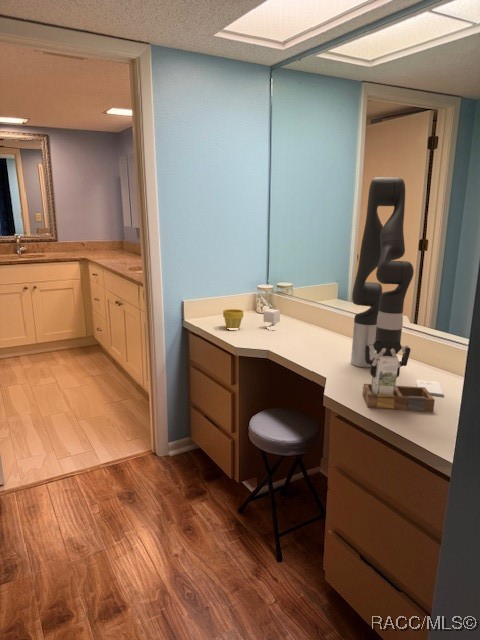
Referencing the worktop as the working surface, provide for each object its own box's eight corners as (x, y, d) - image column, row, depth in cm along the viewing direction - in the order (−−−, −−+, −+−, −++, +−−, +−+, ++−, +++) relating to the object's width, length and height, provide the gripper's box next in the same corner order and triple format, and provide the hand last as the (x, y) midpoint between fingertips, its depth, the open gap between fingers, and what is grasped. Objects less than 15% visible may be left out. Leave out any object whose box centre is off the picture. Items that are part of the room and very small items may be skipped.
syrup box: (387, 394, 148) (392, 352, 144) (394, 401, 142) (399, 357, 139) (370, 394, 147) (374, 351, 144) (376, 401, 142) (380, 357, 138)
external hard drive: (417, 395, 153) (415, 383, 165) (443, 398, 151) (439, 386, 162) (418, 391, 153) (415, 378, 164) (444, 394, 150) (440, 381, 162)
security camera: (269, 326, 242) (270, 308, 240) (280, 328, 238) (281, 310, 236) (263, 328, 237) (263, 310, 235) (274, 331, 233) (275, 312, 231)
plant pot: (236, 326, 242) (236, 308, 239) (246, 330, 233) (247, 311, 231) (219, 328, 236) (219, 309, 234) (229, 332, 228) (229, 313, 226)
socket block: (362, 394, 150) (363, 382, 150) (423, 398, 148) (425, 386, 147) (367, 407, 140) (369, 394, 139) (433, 412, 138) (435, 399, 137)
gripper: (410, 324, 142) (404, 374, 146) (363, 321, 144) (359, 371, 148) (416, 329, 135) (410, 382, 139) (367, 327, 137) (362, 379, 140)
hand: (384, 377), depth 143 cm, fingers closed on syrup box, 6 cm apart
